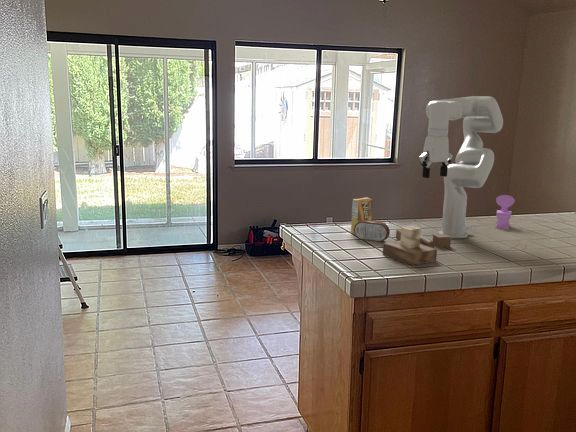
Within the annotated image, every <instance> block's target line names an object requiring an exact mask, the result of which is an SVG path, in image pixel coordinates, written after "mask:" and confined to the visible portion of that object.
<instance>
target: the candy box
mask: <svg viewBox="0 0 576 432" xmlns="http://www.w3.org/2000/svg"><path fill="white" fill-rule="evenodd" d="M372 212H373V198H370V197H360V198H353V199H352V205H351V223H350V224H351V225H350V227H351V228H350V233H351V234H354V235H355V233H354V226H355V225H356V224H357V222H358V221H360V220H370V221H372Z"/></svg>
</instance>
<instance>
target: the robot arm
mask: <svg viewBox="0 0 576 432" xmlns="http://www.w3.org/2000/svg"><path fill="white" fill-rule="evenodd" d="M425 114H426V115H425V116H427V118H428V129H427V136H426V137H425V141H424V145H423V151H422V152H423V153H421V155H419V156H418V159H419V163H420V165H421V167H422V176H421V177H422V178H425V179H429V178H430V175H431V174H430V173H431V165H432V164H437V163H440V164H441V165H440V171H439V176H440V177H443V182H444V196H443V207H442V209H443V210H442V223H441V229H440V230H438V231H437V233H440V234H443V235H446V236H450V237H451V239H465V238H468V235H469V234H468V232H467V231H470V230H471V229H472V225H466V216H467V203H468V194H467V192H466V190H465V188H472V189H480V188H482V187H483V186H484V185H485V183H486V181H487V179H488V177H489V175H490V173H491V171H492V168H493V166H494V162H495V154H494V153H495V152H493V150H492V149H491V148H486V147H484V142H483V140H482V138H481V137H480V135H479V134H478V133H490V134H496V133H498V132H500V131H501V130H502V129H503V127H504V126H503V125H504V118H503V114H502V112H501V108H500V106H499V104H498V101H497V100H496V99H495V97H493V96H490V95H486V96H485V95H484V96H483V95H482V96H481V95H480V96H478V95H477V96H476V95H471V96H465V97H454V98H446V99H445V98H444V99H437V100H436V99H435V100H431V101H429V102H428V103H427V104H426V107H425ZM459 119H463V121H462V130H463V131H462V132H463V142H462V144H461V146H460V147H459V150H458V152H457V154H456V156H455V161H454V162H455V163H451V162H452V159H453V157H454V156H453V154H451V153H450V146H449V145H450V143H449V137H448V135H449V124H450V123H449V121H457V120H459ZM450 163H451V164H450Z"/></svg>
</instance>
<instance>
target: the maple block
mask: <svg viewBox="0 0 576 432" xmlns="http://www.w3.org/2000/svg"><path fill="white" fill-rule="evenodd" d="M400 229H401V241H400V240H399V241H400V245H401V246H404V247H407V248H415V247H420V234H421V232H422V231H421V227H418V226H413V225H408V226H401V227H400Z"/></svg>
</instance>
